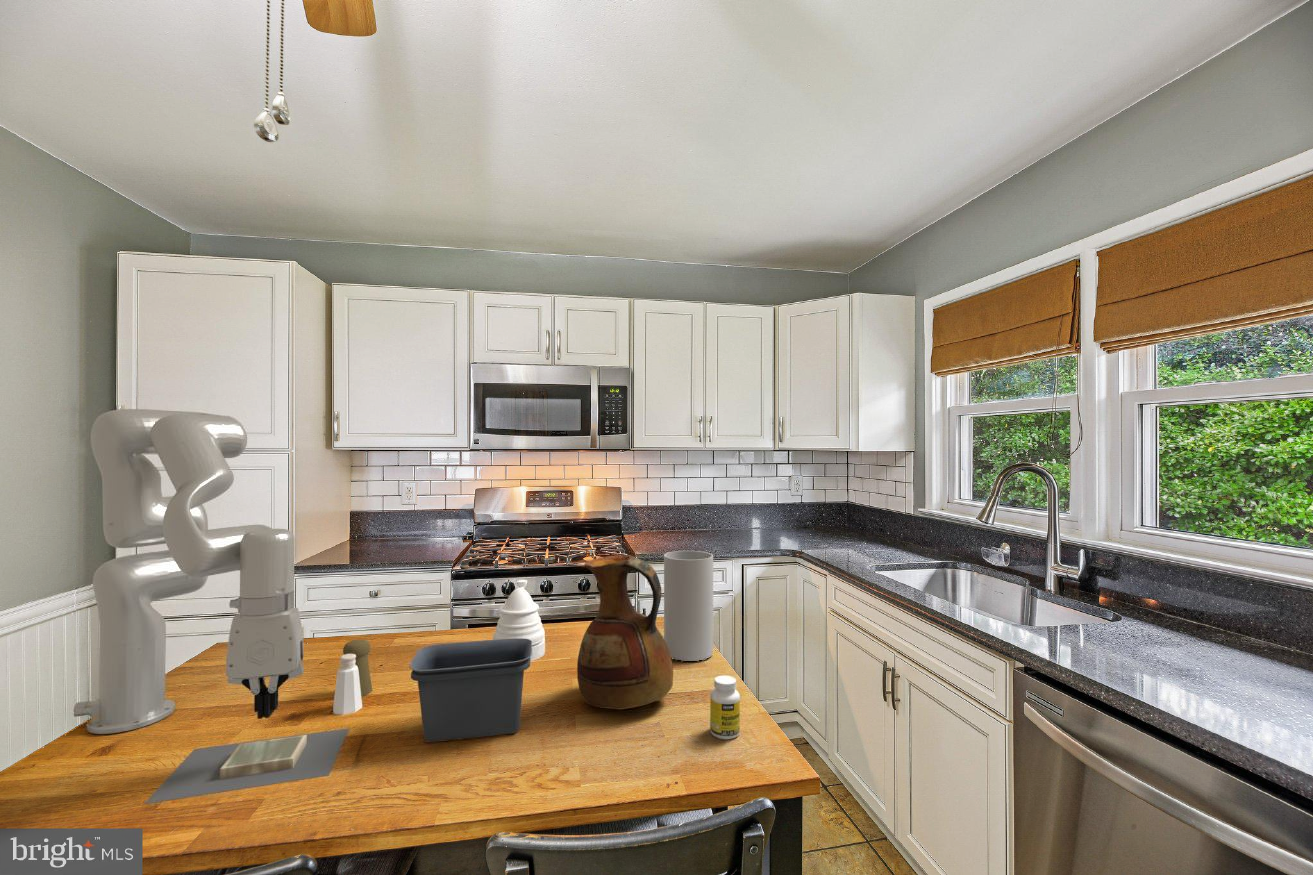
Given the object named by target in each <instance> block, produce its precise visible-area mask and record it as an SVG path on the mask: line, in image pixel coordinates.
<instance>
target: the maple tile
mask: <svg viewBox="0 0 1313 875" xmlns="http://www.w3.org/2000/svg"><path fill="white" fill-rule="evenodd" d="M300 735H301V736H295V735H293V736H294V737H287V736H285V737H286V738H280V737H278V738H279V739H273V738H271V739H272V740H265V739H263V740H264V741H258V740H256V741H257V742H250V741H248V742H249V743H243V742H241V743H242V744H239V746H238V747H237V748H236V749H235V751H234V752H233V753H232V754H231V756H230V757H229V758H228V760H227V761H226V762H225V763H224V765H223V766H222V767H221V768H220V779H225V778H232V777H238V776H245V775H252V774H258V773H265V772H272V771H278V770H285V769H292V768H293V767H294V766H295V764H296V762H297V760H298V758H299V757H300V755H301V753H302V751H303V750H304V748H305V746H306V744H307V735H302V734H300Z"/></svg>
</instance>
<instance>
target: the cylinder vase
mask: <svg viewBox="0 0 1313 875" xmlns="http://www.w3.org/2000/svg"><path fill="white" fill-rule="evenodd" d="M663 638H664V640H665V642H666V644H667V646H668V649H669V652H670V656H671V658H673V659H672V660H674V659H675V660H674V661H677V660H681V661H680V662H683V661H697V662H700V661H699V660H702V661H705V660H708V659H710V658H711V656H712V655H713V653H714V554H712V553H710V552H707V551H700V550H697V551H696V550H677V551H676V550H675V551H674V550H673V551H669V552H666V553H664V554H663ZM707 658H708V659H707Z"/></svg>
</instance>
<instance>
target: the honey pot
mask: <svg viewBox="0 0 1313 875" xmlns="http://www.w3.org/2000/svg"><path fill="white" fill-rule="evenodd" d="M516 582H517V586H518V587H517V588H515V589H514V590H513V591H512V592H511V593H510V595H509V596H508V597H507V599H506V601H505V603H504V604H503V605H500V607H498V612H499V614H500V616H499V618H498V620H497V625H496V627H495V631H494V632H493V639H492V640H497V639H510V638H524V639H529V640H531V641H532V655H531V659H530V662H533V661H536V660H538V659H540V658H541V657H544V655H545V654H546V653H545V652H546V639H545V638H546V637H545V635H546V632H545V629H544V626H543V623H542V620H541V617H540V615H539V613H538V612H539V609H540V607H539V604H538V603H536V602H534V600H533V599H532V596H531V594H530V593H529V592H528V591H527V590H526V589H525V588H526V587H527V584H528V580H527V579H519V580H516Z"/></svg>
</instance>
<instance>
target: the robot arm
mask: <svg viewBox="0 0 1313 875" xmlns="http://www.w3.org/2000/svg"><path fill="white" fill-rule="evenodd" d="M247 445H248V434H247V431H246V429H245V427H244V425H243V424H242V423H241V422H240V421H239V420H238V419H236V418H235V417H233V416H230V415H222V414H221V415H219V414H213V413H205V412H198V411H197V412H196V411H182V410H179V411H178V410H162V409H147V408H146V409H145V408H142V409H141V408H128V409H127V408H123V409H121V408H120V409H114V410H109V411H106V412H103V413H101V414H100V415H99V416H98V417H97V418H96V419H95V421H94V423H93V424H92V428H91V431H90V446H91V450H92V453H93V457H94V459H95V461H96V464H97V467H98V469H99V472H100V475H101V482H102V525H103V526H102V527H103V534H104V538H105V541H106V543H107V544H108V545H109V546H110V547H113V548H116V549H131V548H132V549H133V548H143V547H149V546H151V547H152V546H158V545H165V544H166V547H167V548H168V549H167V550H161V551H149V552H142V553H137V554H130V555H124V556H120V557H116V558H112V559H111V560H108V561H106V562H104V563H103V564H101V565H100V566H99V567H98V568H97V569H96V571H95V572H94V574H93V577H92V578H93V579H92V585H93V586H92V587H93V593H94V596H95V600H96V605H97V611H98V622H99V625H98V626H99V636H98V637H99V648H98V649H99V650H98V651H99V656H98V657H99V658H98V659H99V661H98V663H99V664H98V668H99V669H98V698H97V699H96V700H92V701H90V700H87V701H78V702H76V703H75V704H74V707H73V717H83V716H89V717H90V719H89V720H88V721H90V720H92V719H94V718H95V717H97V718H96V719H94V720H92V721H91V722H89V723H88V722H87V723H88V724H87V723H86V731H87V732H89V733H91V734H95V735H108V734H117V733H124V732H127V731H132V730H136V729H140V728H144V727H146V726H149V725H152V724H155V723H157V722H160V721H162V720H164V719H165V718H167V717H169V716H170V715H171V714H172V713H173V712H174V711H175V710H176V702H175V701H174V700H171V699H169V698H168V699H167V698H166V661H167V660H166V649H167V648H166V646H167V645H166V644H167V639H166V638H167V631H166V630H167V629H166V628H167V625H166V621H165V618H164V616H163V615H162V614H161V613H159V611H157V610H156V609H155V608H154V607H153V606H152V604H151V603H153V602H157V601H160V600H163V599H168V598H174V597H178V596H182V595H187V594H190V593H194V592H198V591H199V590H200V589H202V588H203V587H204V586H205V584H206V583H207V580H208V578H209V577H210V576H215V575H219V574H220V575H221V574H225V573H230V572H231V573H232V572H237V571H239V596H238V597H237V598H235V599H230V601H229V603H228V604H229V608H230V609H234V608H235V609H237V614H236V615H234V616H233V618H232V621H231V625H230V629H229V630H230V631H229V636H228V640H227V641H228V642H227V652H226V660H225V675H226V677H227V683H228V684H233V685H242V686H244V687H245V688H246V689H247V690H249V691H250V693H251V695H252V696H254V698H253V699H254V701H253V706H254V707H253V710H254V713H256V714H257V716H256V718H257V720H261V719H263V718H265V719H267V718H268V719H269V718H270V717H271V716H272V715H273V713H274V712H275V710H277V709H278V707H279V689H280V687H281V686H282V685H284V683H286V681H288V680H292V679H294V678H295V679H296V678H298V677H301V676H302V675H303V673H304V671H305V668H304V664H303V660H304V653H305V652H304V650H305V649H304V637H303V636H304V634H303V626H302V620H301V614H300V612H299V609H298V607H295V536H294V533H293V532H292V531H291V530H290V529H286V528H272V527H270V526H267V525H265V524H247V525H240V526H227V527H221V528H212V529H209V522H208V521H209V520H208V514H207V511H206V509H205V506H204V505H203V504H205V503H208V502H210V501H212V500H215V499H216V498H218V497H219V496H221V495H222V494H224V493H226V492H227V491H228V490H229V489H230V488H231V487H232V485H233V483H234V481H235V475H234V472H233V470H232V469H231V467H230V465H229V464H228V462H227V459H233V458H234V459H235V458H236V457H239V456H240V455H242V454H243V453H244V452H245V450H246V448H247ZM145 454H157V455H158V456H157V457H158V458H159V459H160V462H161V464H162V465H163V468H164V470H165V472H166V473H167V475H168V477H169V479H170V482H171V484H172V485H173V487H174V489H175V491H176V492H175V493H174V495H171V496H163V493H162V476H161V473H160V471H159V469H158V468H157V467H156V466H155V464H154V463H153V462H152V461H151V460H150V459H149V458H148V457H146V456H145ZM268 677H269V682H268V686H267V685H266V681H265V678H268ZM101 714H102V715H101ZM99 715H101V716H99ZM98 716H99V717H98Z"/></svg>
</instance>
